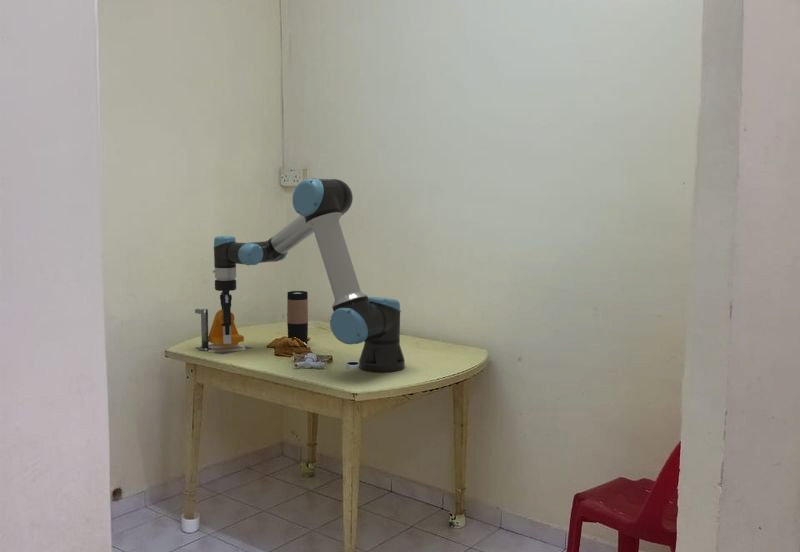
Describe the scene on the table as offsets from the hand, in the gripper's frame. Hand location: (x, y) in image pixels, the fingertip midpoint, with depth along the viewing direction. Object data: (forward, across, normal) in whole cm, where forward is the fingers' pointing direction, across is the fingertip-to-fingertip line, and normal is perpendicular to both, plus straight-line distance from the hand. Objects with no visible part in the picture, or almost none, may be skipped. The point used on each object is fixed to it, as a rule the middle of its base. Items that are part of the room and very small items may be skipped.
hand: (226, 340), depth 259 cm
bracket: (+1, 0, 0) cm, 1 cm away
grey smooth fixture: (+3, -1, -8) cm, 9 cm away
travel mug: (+4, -2, +26) cm, 26 cm away
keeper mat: (+3, -1, -1) cm, 4 cm away
